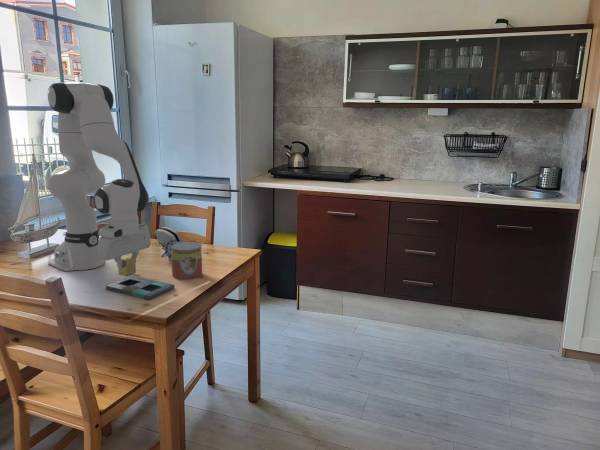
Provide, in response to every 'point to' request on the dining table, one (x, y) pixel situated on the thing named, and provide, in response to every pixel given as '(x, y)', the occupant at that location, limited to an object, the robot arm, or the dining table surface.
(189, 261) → the canned food
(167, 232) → the grey curved piece
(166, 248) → the passion flower
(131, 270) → the brass peg
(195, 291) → the dining table surface
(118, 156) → the robot arm
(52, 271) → the dining table surface
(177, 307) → the dining table surface
